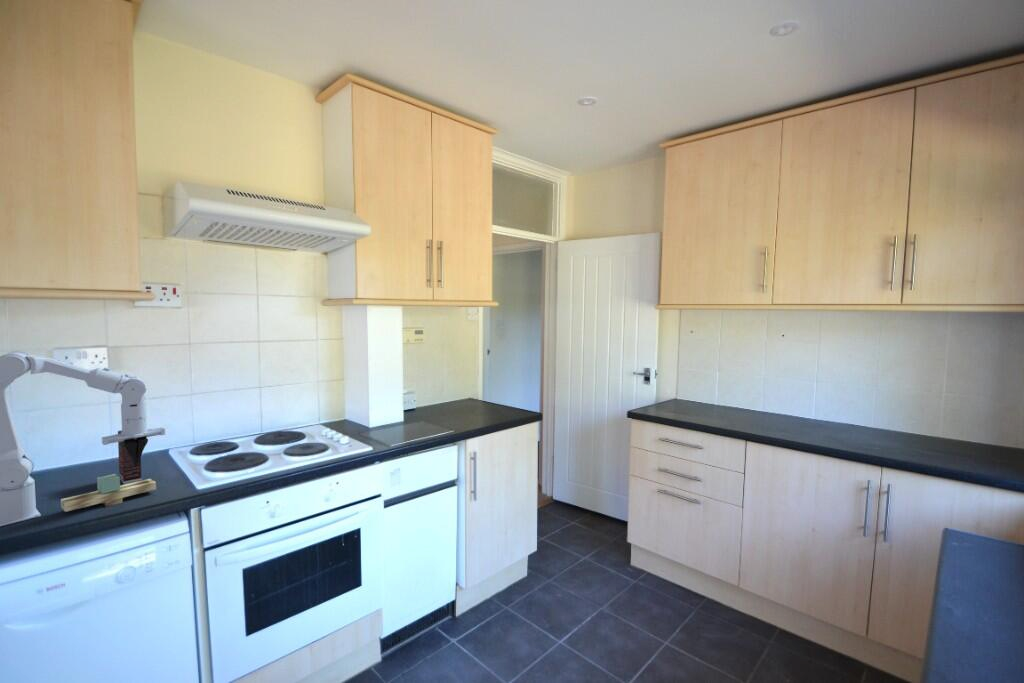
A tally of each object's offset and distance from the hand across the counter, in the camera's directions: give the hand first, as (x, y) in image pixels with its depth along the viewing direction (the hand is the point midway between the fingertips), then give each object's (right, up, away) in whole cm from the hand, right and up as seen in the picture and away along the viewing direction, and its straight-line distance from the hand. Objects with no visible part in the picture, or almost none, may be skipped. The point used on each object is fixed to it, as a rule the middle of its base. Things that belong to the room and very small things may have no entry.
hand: (135, 463), depth 137 cm
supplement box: (-13, -9, +14) cm, 21 cm away
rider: (-4, -8, -5) cm, 10 cm away
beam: (-4, -10, -4) cm, 12 cm away
